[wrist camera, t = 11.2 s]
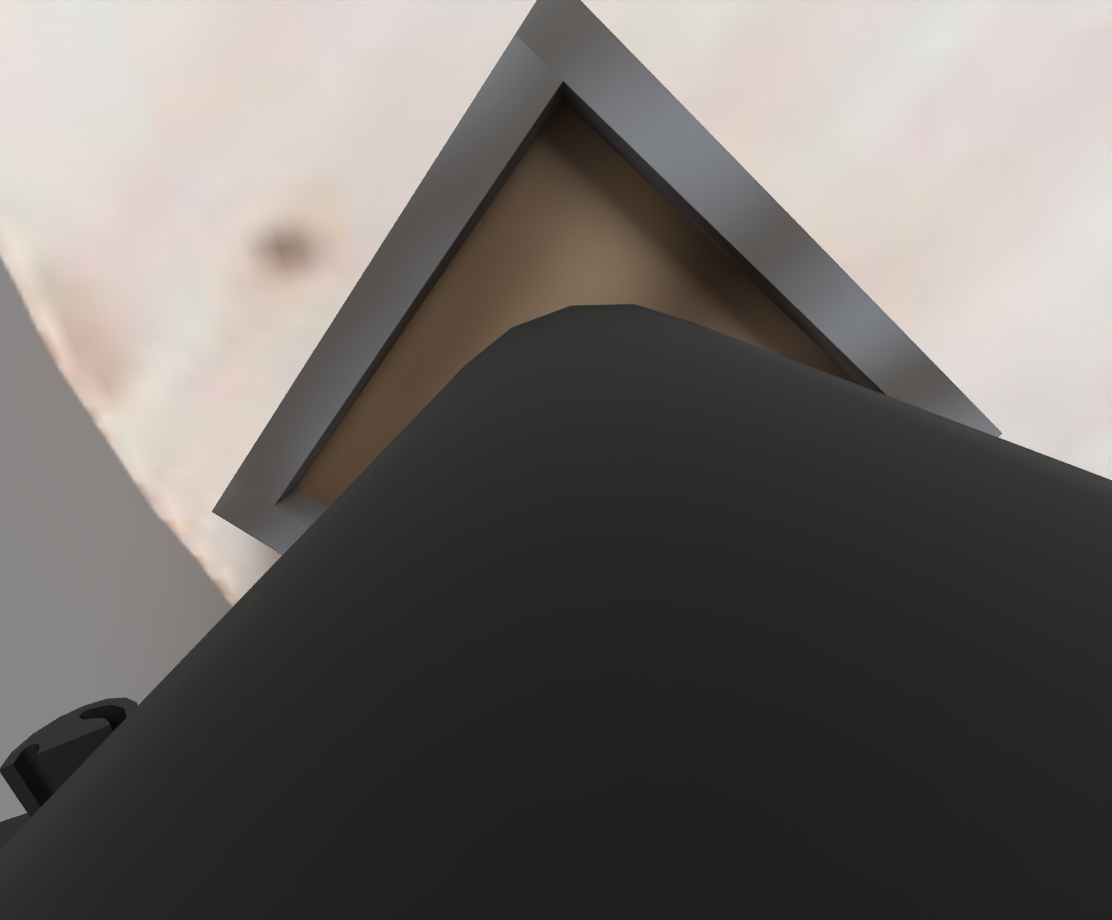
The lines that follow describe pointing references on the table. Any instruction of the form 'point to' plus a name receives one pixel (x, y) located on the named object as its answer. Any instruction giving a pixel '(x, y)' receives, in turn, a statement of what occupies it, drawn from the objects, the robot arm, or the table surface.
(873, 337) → the square wooden box
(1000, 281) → the table surface
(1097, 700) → the coffee jar
